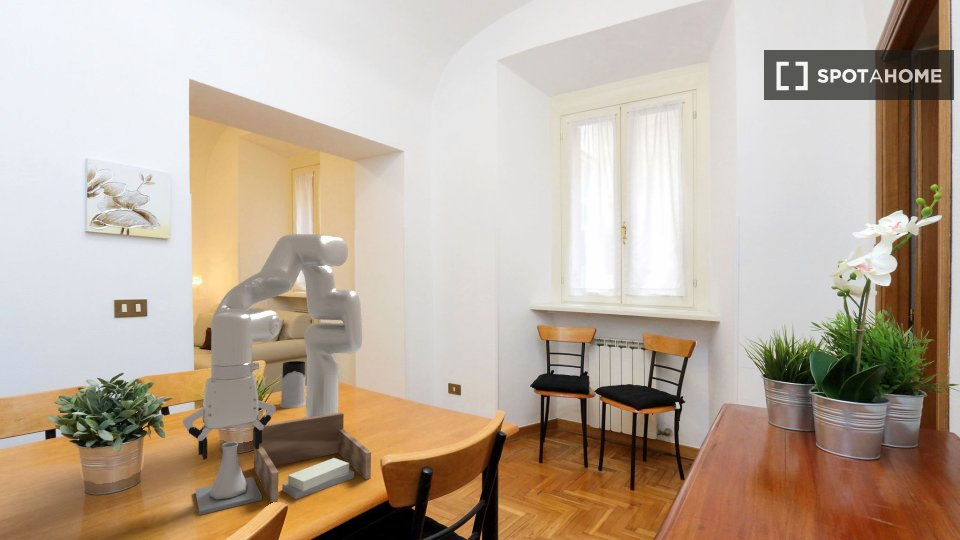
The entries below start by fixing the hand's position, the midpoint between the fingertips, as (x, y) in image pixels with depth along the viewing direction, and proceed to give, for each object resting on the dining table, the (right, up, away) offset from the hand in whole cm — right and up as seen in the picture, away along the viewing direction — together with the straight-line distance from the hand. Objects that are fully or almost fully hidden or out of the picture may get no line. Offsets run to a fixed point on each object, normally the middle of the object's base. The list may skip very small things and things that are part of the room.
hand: (231, 452), depth 97 cm
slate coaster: (0, -9, -1) cm, 9 cm away
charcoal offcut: (+17, -10, +6) cm, 20 cm away
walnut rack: (+13, -9, +11) cm, 19 cm away
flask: (0, -8, -1) cm, 8 cm away
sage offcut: (+17, -8, +6) cm, 19 cm away
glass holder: (-16, -10, +70) cm, 73 cm away
